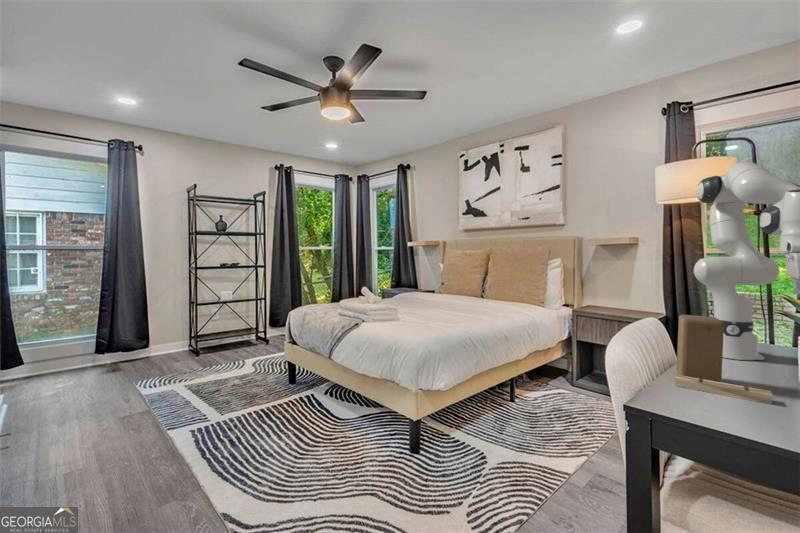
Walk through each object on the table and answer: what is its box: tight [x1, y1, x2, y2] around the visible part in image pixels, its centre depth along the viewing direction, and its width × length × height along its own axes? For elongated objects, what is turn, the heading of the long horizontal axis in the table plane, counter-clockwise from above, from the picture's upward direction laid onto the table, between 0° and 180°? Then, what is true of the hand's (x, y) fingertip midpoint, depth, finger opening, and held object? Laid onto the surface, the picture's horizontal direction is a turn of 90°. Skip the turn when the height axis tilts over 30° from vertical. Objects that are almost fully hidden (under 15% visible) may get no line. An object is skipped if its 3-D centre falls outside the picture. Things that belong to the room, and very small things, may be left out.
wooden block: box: [676, 314, 724, 382], centre depth 118 cm, size 10×10×20 cm
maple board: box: [674, 374, 773, 405], centre depth 107 cm, size 4×21×3 cm, turn 50°
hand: (799, 293), depth 105 cm, fingers closed
